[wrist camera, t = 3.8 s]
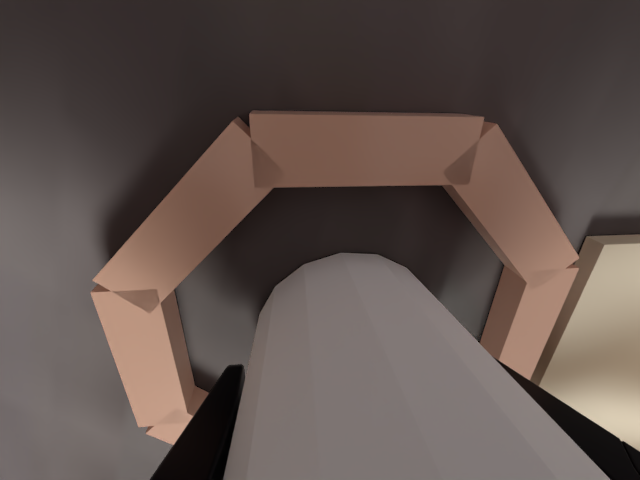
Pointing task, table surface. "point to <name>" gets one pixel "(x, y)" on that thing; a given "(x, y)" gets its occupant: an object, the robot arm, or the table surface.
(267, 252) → the table surface
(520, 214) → the ring coaster
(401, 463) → the white cylinder
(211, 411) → the robot arm
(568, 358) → the beige flat pad
